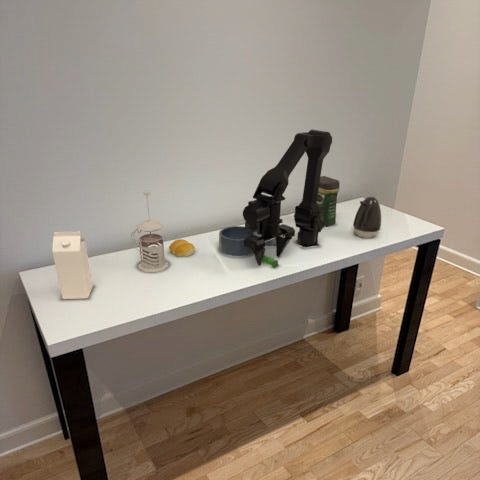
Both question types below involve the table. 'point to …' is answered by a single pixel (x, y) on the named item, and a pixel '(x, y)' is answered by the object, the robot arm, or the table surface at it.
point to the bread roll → (182, 248)
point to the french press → (151, 260)
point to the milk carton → (72, 265)
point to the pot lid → (268, 243)
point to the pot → (234, 241)
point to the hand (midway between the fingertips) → (268, 260)
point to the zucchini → (270, 261)
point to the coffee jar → (327, 199)
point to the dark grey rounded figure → (368, 218)
